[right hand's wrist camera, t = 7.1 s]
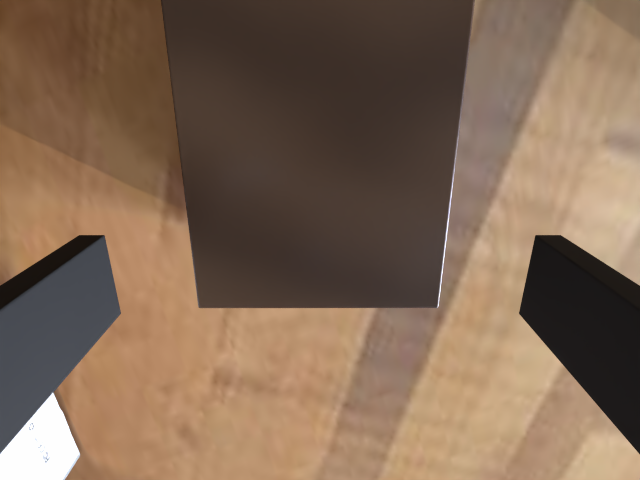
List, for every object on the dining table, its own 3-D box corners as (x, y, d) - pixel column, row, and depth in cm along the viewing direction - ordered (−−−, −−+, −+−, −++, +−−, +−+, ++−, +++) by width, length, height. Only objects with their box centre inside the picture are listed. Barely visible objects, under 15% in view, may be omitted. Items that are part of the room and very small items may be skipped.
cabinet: (204, -185, 18) (109, -408, 10) (431, -185, 18) (524, -407, 10) (237, 237, 26) (198, 308, 17) (400, 237, 26) (438, 308, 17)
